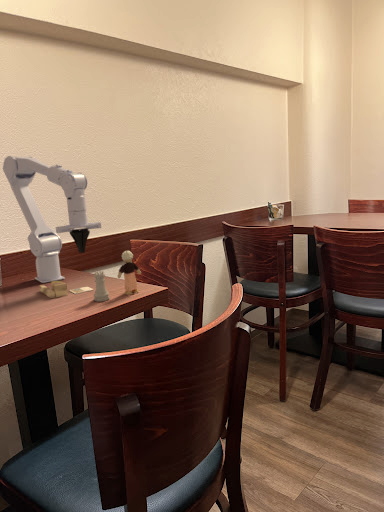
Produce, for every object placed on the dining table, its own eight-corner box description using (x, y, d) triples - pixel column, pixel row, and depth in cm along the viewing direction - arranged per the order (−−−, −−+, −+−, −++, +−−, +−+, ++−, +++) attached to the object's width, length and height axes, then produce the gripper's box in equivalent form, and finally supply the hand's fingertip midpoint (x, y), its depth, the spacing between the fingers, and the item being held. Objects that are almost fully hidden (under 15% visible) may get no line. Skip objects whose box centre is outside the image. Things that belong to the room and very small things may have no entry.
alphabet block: (62, 289, 128) (61, 280, 127) (62, 292, 125) (61, 282, 124) (52, 290, 127) (51, 281, 127) (51, 293, 124) (50, 283, 124)
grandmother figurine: (135, 289, 123) (131, 248, 121) (144, 290, 121) (140, 249, 118) (116, 295, 117) (112, 252, 115) (125, 297, 115) (121, 253, 112)
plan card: (69, 290, 125) (69, 290, 125) (87, 287, 129) (87, 286, 129) (74, 294, 121) (74, 293, 121) (93, 289, 125) (93, 289, 125)
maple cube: (52, 295, 122) (51, 283, 121) (63, 292, 124) (62, 281, 123) (56, 297, 119) (54, 285, 118) (67, 294, 121) (66, 283, 120)
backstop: (40, 291, 127) (39, 285, 127) (43, 290, 128) (43, 284, 128) (51, 298, 118) (50, 292, 118) (55, 297, 119) (54, 291, 118)
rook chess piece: (106, 302, 111) (103, 274, 110) (91, 302, 112) (88, 274, 111) (112, 297, 116) (109, 270, 114) (97, 297, 116) (95, 270, 115)
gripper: (58, 213, 123) (64, 257, 125) (103, 209, 131) (107, 250, 134) (51, 212, 128) (56, 254, 131) (94, 208, 137) (98, 248, 139)
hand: (81, 252), depth 133 cm, fingers closed
